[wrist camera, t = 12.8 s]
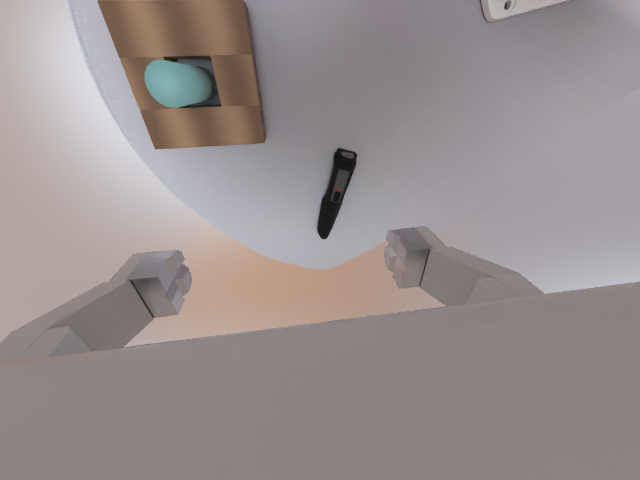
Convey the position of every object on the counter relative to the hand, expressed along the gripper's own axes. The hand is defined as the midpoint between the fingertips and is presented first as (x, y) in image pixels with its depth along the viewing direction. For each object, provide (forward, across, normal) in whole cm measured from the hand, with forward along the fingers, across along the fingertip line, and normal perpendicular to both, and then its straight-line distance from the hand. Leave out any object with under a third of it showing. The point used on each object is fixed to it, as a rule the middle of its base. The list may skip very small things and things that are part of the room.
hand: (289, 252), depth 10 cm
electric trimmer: (+32, -8, +11) cm, 34 cm away
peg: (+31, +10, -6) cm, 33 cm away
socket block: (+31, +10, -6) cm, 33 cm away
